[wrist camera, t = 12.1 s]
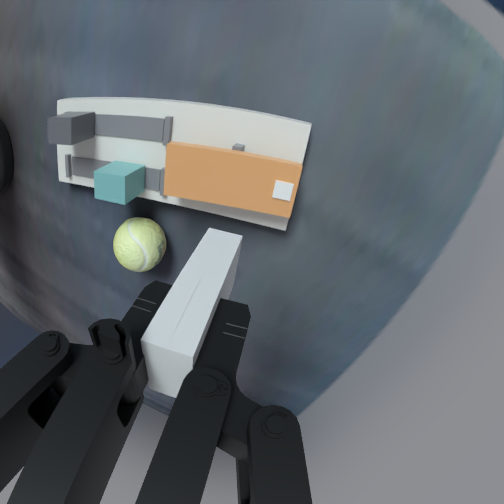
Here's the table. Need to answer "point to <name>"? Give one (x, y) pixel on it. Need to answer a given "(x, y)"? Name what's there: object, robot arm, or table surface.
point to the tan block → (231, 178)
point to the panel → (179, 130)
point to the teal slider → (119, 182)
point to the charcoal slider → (71, 128)
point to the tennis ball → (139, 244)
